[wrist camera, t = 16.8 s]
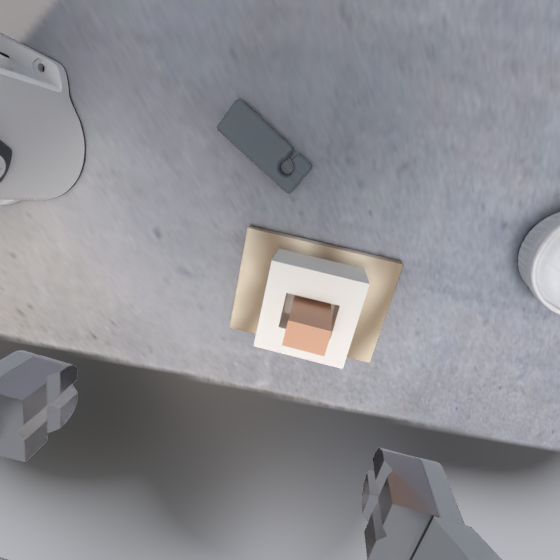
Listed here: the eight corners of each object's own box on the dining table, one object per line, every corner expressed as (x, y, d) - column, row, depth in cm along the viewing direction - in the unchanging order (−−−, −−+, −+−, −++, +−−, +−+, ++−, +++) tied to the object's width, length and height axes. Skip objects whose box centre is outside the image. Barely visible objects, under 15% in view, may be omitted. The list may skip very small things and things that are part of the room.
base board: (232, 322, 45) (229, 327, 44) (250, 225, 41) (247, 227, 40) (368, 356, 44) (369, 362, 43) (400, 261, 40) (403, 264, 39)
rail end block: (291, 307, 40) (281, 345, 32) (296, 287, 40) (288, 320, 31) (325, 316, 40) (324, 356, 32) (330, 296, 39) (331, 331, 31)
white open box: (262, 324, 43) (253, 346, 38) (278, 248, 40) (271, 260, 35) (341, 344, 43) (342, 369, 38) (364, 268, 39) (369, 284, 34)
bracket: (242, 99, 38) (237, 96, 36) (313, 166, 39) (313, 166, 37) (220, 130, 39) (215, 128, 37) (290, 193, 40) (288, 195, 38)
